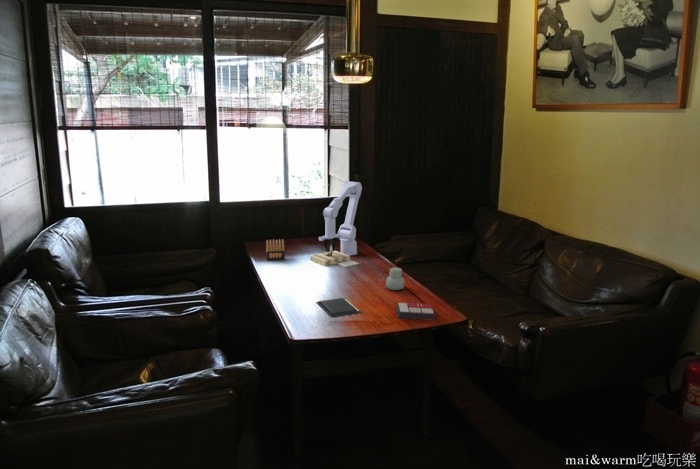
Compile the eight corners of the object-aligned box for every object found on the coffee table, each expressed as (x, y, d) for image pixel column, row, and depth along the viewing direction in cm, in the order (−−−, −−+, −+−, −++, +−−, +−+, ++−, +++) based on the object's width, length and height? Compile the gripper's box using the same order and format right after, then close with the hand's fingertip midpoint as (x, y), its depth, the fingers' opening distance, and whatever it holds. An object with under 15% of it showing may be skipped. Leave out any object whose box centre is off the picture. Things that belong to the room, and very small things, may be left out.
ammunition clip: (284, 258, 312) (284, 238, 310) (284, 259, 311) (284, 239, 308) (265, 259, 310) (265, 239, 307) (266, 260, 309) (265, 239, 306)
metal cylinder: (330, 254, 311) (330, 242, 309) (333, 255, 308) (333, 243, 307) (326, 255, 309) (326, 243, 307) (329, 256, 306) (329, 244, 305)
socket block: (335, 255, 320) (335, 250, 319) (349, 260, 309) (349, 255, 309) (310, 260, 309) (310, 255, 308) (324, 266, 298) (324, 260, 298)
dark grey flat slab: (315, 299, 243) (346, 295, 249) (315, 303, 244) (346, 299, 249) (329, 315, 225) (363, 310, 230) (329, 319, 226) (363, 314, 231)
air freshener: (402, 292, 257) (403, 272, 255) (385, 291, 259) (386, 271, 256) (404, 285, 268) (405, 266, 265) (388, 284, 269) (388, 265, 267)
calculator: (435, 312, 224) (399, 310, 224) (434, 322, 225) (398, 320, 224) (431, 303, 234) (397, 301, 234) (430, 312, 235) (396, 310, 235)
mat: (351, 261, 308) (351, 260, 308) (359, 264, 303) (359, 263, 303) (337, 264, 302) (337, 263, 302) (345, 267, 297) (345, 266, 297)
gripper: (336, 225, 312) (336, 247, 315) (315, 228, 303) (315, 251, 306) (343, 227, 307) (343, 250, 310) (323, 230, 298) (323, 254, 301)
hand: (330, 251), depth 308 cm, fingers closed on metal cylinder, 3 cm apart
